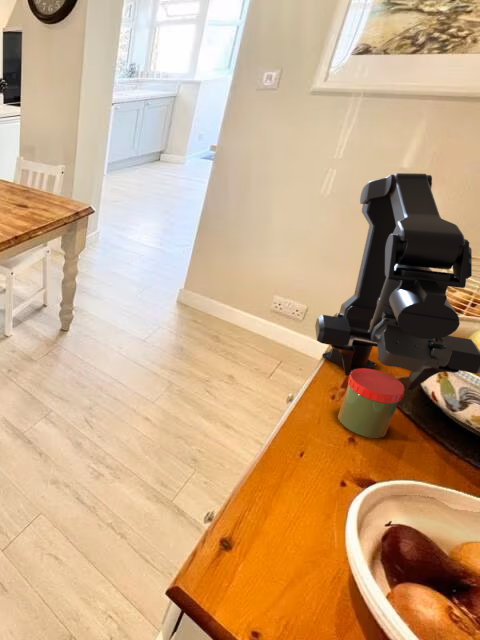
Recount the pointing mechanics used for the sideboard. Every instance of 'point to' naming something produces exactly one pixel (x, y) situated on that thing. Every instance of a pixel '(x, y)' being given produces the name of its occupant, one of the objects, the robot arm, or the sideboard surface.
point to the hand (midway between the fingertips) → (376, 381)
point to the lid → (376, 385)
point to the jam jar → (365, 415)
